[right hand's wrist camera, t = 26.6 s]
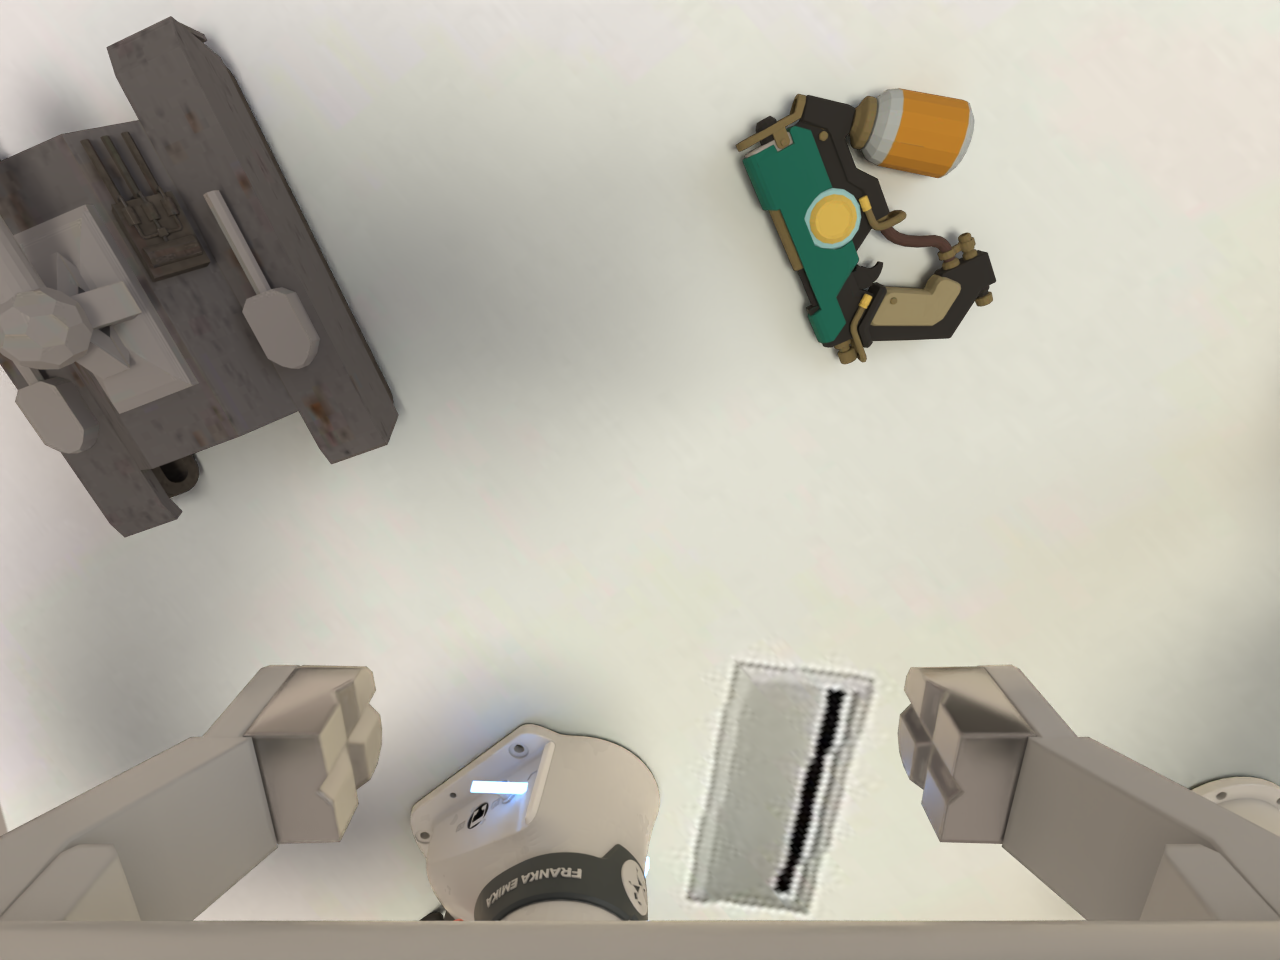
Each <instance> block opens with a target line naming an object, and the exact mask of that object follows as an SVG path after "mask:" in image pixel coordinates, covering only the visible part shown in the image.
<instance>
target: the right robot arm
mask: <svg viewBox="0 0 1280 960" xmlns="http://www.w3.org/2000/svg"><path fill="white" fill-rule="evenodd" d="M375 691H376V687H375V682H374V677H373V672H372V671H371V670H370V669H369V668H368V667H366V666H320V665H302V666H299V665H269V666H266V667H263V668H261V669H260V670H259V671H258V672H257V674H256V675H255V676H254V677H253V678H252V679H251V681H250V682H249V683H248V684H247V685H246V686H245V688H244V689H243V690H242V691H241V692H240V693H239V695H238V696H237V697H236V698H235V699H234V700H233V702H232V703H231V704H230V705H229V706H228V707H227V709H226V710H225V711H224V712H223V713H222V714H221V716H220V717H219V718H218V719H217V720H216V721H215V723H214V724H213V725H212V726H211V727H210V728H209V730H208V731H207V732H206V733H205V734H204V735H203V737H190V738H188V739H187V740H185V741H183V742H181V743H179V744H177V745H175V746H173V747H171V748H169V749H167V750H165V751H163V752H162V753H160V754H158V755H156V756H154V757H152V758H150V759H148V760H146V761H144V762H142V763H140V764H138V765H137V766H135V767H133V768H131V769H129V770H127V771H125V772H123V773H121V774H119V775H117V776H115V777H114V778H112V779H110V780H108V781H106V782H104V783H102V784H100V785H98V786H96V787H94V788H92V789H90V790H89V791H87V792H85V793H83V794H81V795H79V796H77V797H75V798H73V799H71V800H69V801H67V802H65V803H64V804H62V805H60V806H58V807H56V808H54V809H52V810H50V811H48V812H46V813H44V814H42V815H40V816H39V817H37V818H35V819H33V820H31V821H29V822H27V823H25V824H23V825H21V826H19V827H17V828H16V829H14V830H12V831H10V832H8V833H6V834H4V835H2V836H0V960H1280V837H1279V836H1277V835H1275V834H1274V833H1272V832H1270V831H1268V830H1266V829H1264V828H1262V827H1260V826H1258V825H1256V824H1254V823H1252V822H1251V821H1249V820H1247V819H1245V818H1243V817H1241V816H1239V815H1237V814H1235V813H1233V812H1231V811H1229V810H1228V809H1226V808H1224V807H1222V806H1220V805H1218V804H1216V803H1214V802H1212V801H1210V800H1208V799H1207V798H1205V797H1203V796H1201V795H1199V794H1197V793H1195V792H1193V791H1191V790H1189V789H1187V788H1185V787H1184V786H1182V785H1180V784H1178V783H1176V782H1174V781H1172V780H1170V779H1168V778H1166V777H1164V776H1162V775H1161V774H1159V773H1157V772H1155V771H1153V770H1151V769H1149V768H1147V767H1145V766H1143V765H1141V764H1139V763H1138V762H1136V761H1134V760H1132V759H1130V758H1128V757H1126V756H1124V755H1122V754H1120V753H1118V752H1116V751H1115V750H1113V749H1111V748H1109V747H1107V746H1105V745H1103V744H1101V743H1099V742H1097V741H1095V740H1093V739H1092V738H1090V737H1077V735H1076V734H1075V733H1074V732H1073V731H1072V730H1071V728H1070V727H1069V726H1068V725H1067V724H1066V723H1065V721H1064V720H1063V719H1062V718H1061V717H1060V716H1059V714H1058V713H1057V712H1056V711H1055V710H1054V709H1053V707H1052V706H1051V705H1050V704H1049V703H1048V702H1047V700H1046V699H1045V698H1044V697H1043V696H1042V695H1041V693H1040V692H1039V691H1038V690H1037V689H1036V688H1035V686H1034V685H1033V684H1032V683H1031V682H1030V681H1029V679H1028V678H1027V677H1026V676H1025V675H1024V674H1023V672H1022V671H1021V670H1020V669H1019V668H1017V667H1015V666H1013V665H982V666H977V667H911V668H910V670H909V672H908V674H907V676H906V681H905V687H904V691H905V693H906V695H907V697H908V698H909V700H910V702H911V704H910V705H909V706H908V707H907V708H906V709H905V710H904V711H903V712H902V713H901V714H900V719H899V727H898V742H899V752H900V756H901V759H902V763H903V766H904V768H905V771H906V773H907V775H908V777H909V779H910V780H911V781H912V782H914V783H915V784H916V785H918V786H919V787H921V788H922V789H923V790H924V791H923V797H922V803H921V804H922V806H923V808H924V810H925V812H926V814H927V816H928V818H929V820H930V822H931V824H932V827H933V829H934V831H935V833H936V835H937V837H938V839H939V841H940V842H957V843H993V844H1002V847H1003V848H1004V849H1005V850H1006V851H1007V852H1009V853H1010V854H1011V855H1012V856H1013V857H1014V858H1016V859H1017V860H1018V861H1019V862H1020V863H1021V864H1022V865H1024V866H1025V867H1026V868H1027V869H1028V870H1029V871H1031V872H1032V873H1033V874H1034V875H1035V876H1036V877H1038V878H1039V879H1040V880H1041V881H1042V882H1043V883H1045V884H1046V885H1047V886H1048V887H1049V888H1050V889H1051V890H1053V891H1054V892H1055V893H1056V894H1057V895H1058V896H1060V897H1061V898H1062V899H1063V900H1064V901H1065V902H1067V903H1068V904H1069V905H1070V906H1071V907H1072V908H1074V909H1075V910H1076V911H1077V912H1078V913H1079V914H1080V915H1082V916H1083V917H1084V918H1085V919H1086V920H1087V921H648V903H647V888H646V879H645V877H646V874H647V872H648V869H649V857H647V853H648V847H649V842H650V838H651V834H652V830H653V827H654V823H655V821H656V818H657V815H658V811H659V805H660V796H659V790H658V786H657V783H656V781H655V779H654V777H653V775H652V773H651V772H650V770H649V769H648V768H647V766H646V765H645V764H644V763H643V762H642V761H641V760H640V759H639V758H638V757H636V756H635V755H634V754H633V753H631V752H630V751H628V750H626V749H625V748H623V747H621V746H619V745H617V744H614V743H612V742H609V741H606V740H602V739H598V738H593V737H586V736H571V735H563V734H558V733H556V732H554V731H551V730H549V729H546V728H544V727H541V726H538V725H534V724H525V725H522V726H520V727H519V728H517V729H516V730H515V731H513V732H512V733H511V734H509V735H508V736H507V737H505V738H504V739H502V740H501V741H500V742H498V743H497V744H496V745H494V746H493V747H492V748H490V749H489V750H488V751H486V752H485V753H483V754H482V755H481V756H479V757H478V758H477V759H475V760H474V761H473V762H471V763H470V764H469V765H467V766H466V767H464V768H463V769H462V770H460V771H459V772H458V773H456V774H455V775H454V776H452V777H451V778H450V779H448V780H447V781H445V782H444V783H443V784H441V785H440V786H439V787H437V788H436V789H435V790H433V791H432V792H431V793H429V794H428V795H426V796H425V797H424V798H422V799H421V800H420V801H419V802H417V803H416V804H415V805H414V806H413V808H412V811H411V815H410V822H411V829H412V832H413V835H414V838H415V840H416V843H417V844H418V846H419V848H420V850H421V851H422V853H423V854H424V856H425V857H426V859H427V860H426V868H427V875H428V880H429V882H430V885H431V887H432V889H433V891H434V893H435V895H436V897H437V898H438V900H439V901H440V902H441V904H442V905H443V906H444V908H445V909H446V913H445V917H444V918H443V915H442V914H441V913H439V912H435V913H431V914H429V915H427V916H426V917H424V918H423V919H421V920H420V921H193V920H194V919H195V918H196V917H197V916H199V915H200V914H201V913H202V912H203V911H204V910H205V909H207V908H208V907H209V906H210V905H211V904H212V903H214V902H215V901H216V900H217V899H218V898H219V897H221V896H222V895H223V894H224V893H225V892H226V891H228V890H229V889H230V888H231V887H232V886H233V885H235V884H236V883H237V882H238V881H239V880H240V879H242V878H243V877H244V876H245V875H246V874H247V873H249V872H250V871H251V870H252V869H253V868H254V867H255V866H257V865H258V864H259V863H260V862H261V861H262V860H264V859H265V858H266V857H267V856H268V855H269V854H271V853H272V852H273V851H274V850H275V849H276V848H278V844H287V843H321V842H340V841H341V839H342V837H343V835H344V833H345V831H346V829H347V827H348V825H349V823H350V820H351V818H352V816H353V814H354V812H355V810H356V808H357V806H358V804H359V803H358V797H357V791H356V790H357V789H358V788H359V787H361V786H362V785H364V784H365V783H366V782H368V781H369V780H370V779H371V777H372V775H373V773H374V770H375V768H376V766H377V764H378V759H379V755H380V750H381V745H382V725H381V718H380V714H379V713H378V712H377V711H376V710H375V709H374V708H373V707H372V706H371V705H370V704H369V702H370V700H371V698H372V697H373V695H374V693H375ZM517 745H522V746H523V747H519V746H517Z"/></svg>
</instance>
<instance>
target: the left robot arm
mask: <svg viewBox="0 0 1280 960" xmlns="http://www.w3.org/2000/svg"><path fill="white" fill-rule="evenodd" d="M1191 791H1193V792H1195V793H1197V794H1199V795H1201V796H1203V797H1205V798H1207V799H1208V800H1210V801H1212V802H1214V803H1216V804H1218V805H1220V806H1222V807H1224V808H1226V809H1228V810H1229V811H1231V812H1233V813H1235V814H1237V815H1239V816H1241V817H1243V818H1245V819H1247V820H1249V821H1251V822H1252V823H1254V824H1256V825H1258V826H1260V827H1262V828H1264V829H1266V830H1268V831H1270V832H1272V833H1274V834H1275V835H1277V836H1279V837H1280V787H1279V786H1278V785H1276V784H1274V783H1272V782H1270V781H1267V780H1264V779H1260V778H1254V777H1231V778H1224V779H1219V780H1216V781H1212V782H1208V783H1206V784H1203V785H1201V786H1199V787H1196V788H1194V789H1192V790H1191Z"/></svg>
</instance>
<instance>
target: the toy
mask: <svg viewBox="0 0 1280 960" xmlns="http://www.w3.org/2000/svg"><path fill="white" fill-rule="evenodd" d="M206 41H207V39H206V37H205V35H204V34H202V33H200V32H198V31H196V30H194V29H192V28H190V27H188V26H186V25H183V24H181V23H179V22H178V21H176V20H175V19H174V18H173V17H171V16H170V17H168V18H166V19H164V20H162V21H160V22H158V23H156V24H154V25H152V26H150V27H148V28H146V29H144V30H141V31H139V32H137V33H135V34H133V35H131V36H129V37H127V38H125V39H123V40H121V41H119V42H117V43H115V44H112V45H110V46H108V47H107V50H108V53H109V57H110V60H111V63H112V66H113V69H114V73H115V76H116V78H117V80H118V82H119V84H120V85H121V87H122V89H123V91H124V93H125V95H126V97H127V98H128V100H129V102H130V104H131V106H132V108H133V110H134V111H135V113H136V115H137V117H138V119H139V120H137V121H132V122H126V123H121V124H115V125H110V126H104V127H99V128H93V129H88V130H82V131H77V132H71V133H66V134H61V135H59V136H56V137H54V138H52V139H50V140H47V141H45V142H43V143H41V144H38V145H36V146H34V147H32V148H29V149H27V150H25V151H23V152H20V153H18V154H16V155H14V156H11V157H9V158H7V159H5V160H2V161H0V364H1V366H2V367H3V369H4V370H5V372H6V373H7V375H8V376H9V378H10V379H11V380H12V382H13V383H14V385H15V386H16V388H17V389H18V392H17V396H16V400H15V402H16V404H17V405H18V406H19V408H20V409H21V411H22V412H23V414H24V415H25V417H26V418H27V419H28V421H29V422H30V424H31V425H32V427H33V428H34V430H35V431H36V432H37V434H38V435H39V437H40V438H41V440H42V441H43V443H44V444H45V445H47V446H49V447H51V448H53V449H55V450H57V451H60V452H61V453H62V455H63V456H64V458H65V459H66V461H67V462H68V463H69V465H70V466H71V468H72V469H73V471H74V472H75V474H76V475H77V477H78V478H79V479H80V481H81V482H82V484H83V485H84V487H85V488H86V490H87V491H88V493H89V494H90V495H91V497H92V498H93V500H94V501H95V503H96V504H97V506H98V507H99V508H100V510H101V511H102V513H103V514H104V516H105V517H106V519H107V520H108V522H109V523H110V524H111V525H112V526H113V527H114V528H115V529H116V530H117V531H118V532H119V533H121V534H122V535H123V536H124V537H127V536H130V535H133V534H136V533H139V532H142V531H145V530H147V529H150V528H153V527H156V526H159V525H162V524H165V523H167V522H170V521H173V520H176V519H177V518H178V517H179V516H180V514H181V513H182V510H181V509H180V508H179V507H178V506H177V505H176V504H175V503H174V502H173V501H172V500H171V499H170V498H171V497H174V496H176V495H179V494H182V493H184V492H187V491H189V490H190V489H191V488H192V487H194V485H195V484H196V482H197V481H198V477H199V468H198V465H197V463H196V461H195V459H194V458H193V456H192V454H194V453H196V452H199V451H202V450H204V449H207V448H210V447H212V446H215V445H218V444H220V443H223V442H226V441H228V440H231V439H234V438H236V437H239V436H241V435H244V434H246V433H248V432H251V431H253V430H255V429H258V428H260V427H262V426H265V425H267V424H269V423H272V422H274V421H276V420H279V419H281V418H283V417H286V416H288V415H290V414H293V413H295V412H297V411H299V412H300V414H301V416H302V418H303V420H304V421H305V423H306V425H307V427H308V429H309V431H310V432H311V434H312V436H313V438H314V440H315V441H316V443H317V445H318V447H319V449H320V450H321V451H322V452H323V454H324V455H325V456H326V458H327V459H328V460H329V462H330V463H331V464H334V463H336V462H339V461H342V460H345V459H348V458H351V457H354V456H356V455H359V454H362V453H365V452H368V451H371V450H374V449H376V448H379V447H382V446H385V445H387V444H388V442H389V439H390V437H391V434H392V431H393V429H394V426H395V423H396V421H397V418H398V413H397V411H396V409H395V407H394V405H393V397H392V394H391V391H390V389H389V387H388V385H387V383H386V381H385V379H384V377H383V375H382V373H381V371H380V369H379V367H378V365H377V363H376V361H375V359H374V357H373V355H372V353H371V351H370V349H369V346H368V344H367V342H366V340H365V338H364V336H363V334H362V332H361V330H360V328H359V326H358V324H357V322H356V320H355V318H354V316H353V314H352V312H351V310H350V308H349V306H348V304H347V302H346V300H345V298H344V296H343V294H342V292H341V290H340V288H339V286H338V284H337V282H336V280H335V278H334V276H333V274H332V272H331V270H330V268H329V266H328V264H327V262H326V260H325V258H324V256H323V254H322V252H321V250H320V248H319V246H318V244H317V242H316V240H315V238H314V236H313V234H312V232H311V230H310V228H309V226H308V224H307V222H306V220H305V218H304V216H303V214H302V212H301V210H300V208H299V206H298V204H297V202H296V200H295V198H294V196H293V194H292V192H291V190H290V188H289V186H288V184H287V182H286V180H285V178H284V176H283V174H282V172H281V170H280V168H279V166H278V164H277V162H276V160H275V158H274V156H273V154H272V152H271V150H270V148H269V146H268V144H267V142H266V140H265V138H264V136H263V134H262V132H261V130H260V128H259V126H258V124H257V122H256V120H255V118H254V116H253V114H252V111H251V109H250V107H249V105H248V103H247V101H246V99H245V97H244V95H243V93H242V91H241V89H240V87H239V85H238V83H237V81H236V79H235V77H234V76H233V75H232V73H231V72H230V71H229V69H228V68H227V67H226V66H225V65H224V63H223V61H222V59H221V58H220V57H219V56H218V55H217V54H216V53H214V52H213V51H212V50H211V49H210V48H208V47H207V46H206V45H205V44H204V42H206Z"/></svg>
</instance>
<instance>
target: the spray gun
mask: <svg viewBox="0 0 1280 960" xmlns="http://www.w3.org/2000/svg"><path fill="white" fill-rule="evenodd" d="M798 119H799V122H798V123H797V124H796V125H795V126H793V127H789V128H787V129H786V128H785V127H786V126H787V125H789V124H791V123H793V122H795V121H796V120H798ZM973 130H974V117H973V113H972V110H971V106H970V103H968V102H967V101H964V100H961V99H955V98H950V97H944V96H938V95H933V94H927V93H922V92H916V91H911V90H905V89H890V90H886V91H885V92H884V93H882V94H881V95H880V96H878V97H877V98H875V97H871V96H867V97H865V98H864V99H863V100H862V102H861V103H860V104H859V106H858V107H856V108H854V107H852V106H850V105H848V104H844V103H840V102H835V101H831V100H827V99H823V98H819V97H815V96H810V95H807V96H806V95H801V94H797V95H796V97H795V99H794V101H793V104H792V107H791V111H790V115H788V116H786V117H784V118H783V119H781V120H779V121H776V119H775V118H773V117H771V116H769V117H767V118H765V119H763V120H762V121H760V122H758V123H757V125H756V134H754V135H752V136H750V137H749V138H747V139H745V140H743V141H742V142H740V143H738V144H737V145H736V147H737V149H738V152H740V151H743V150H745V149H746V148H748V147H750V146H752V145H754V144H755V143H757V142H759V141H760V143H761V146H759V147H758V148H756V149H754V150H752V151H751V152H749V153H747V154H746V155H745V159H743V163H744V166H745V168H746V171H747V173H748V175H749V178H750V180H751V183H752V185H753V187H754V190H755V192H756V194H757V197H758V199H759V202H760V204H761V206H762V209H763V210H769V213H770V215H771V217H772V220H773V222H774V224H775V227H776V229H777V232H778V234H779V236H780V239H781V241H782V244H783V246H784V248H785V251H786V253H787V255H788V258H789V260H790V263H791V265H792V267H793V270H794V271H798V273H799V275H800V278H801V280H802V282H803V285H804V287H805V290H806V292H807V294H808V297H809V299H810V302H811V304H812V305H810V306H808V307H806V309H807V312H808V318H809V321H810V323H811V325H812V328H813V330H814V333H815V335H816V337H817V340H818V342H820V343H822V344H823V346H824V347H828V348H829V347H835V348H836V349H839V352H838V356H839V359H840V361H841V363H842V364H848V363H851V362H853V361H854V360H855V359H856V358H858V359H859V360H860V361H861V362H866V359H867V358H866V354H865V351H864V348H863V347H865V348H868V347H870V345H871V344H872V343H873V342H872V341H892V340H922V339H944V338H951V336H952V335H953V333H954V332H955V330H956V329H957V327H958V326H959V324H960V323H961V321H962V320H963V318H964V317H965V315H966V313H967V312H968V310H969V309H970V307H971V306H972V304H973V303H974V301H975V302H976V304H977V306H985V305H988V304H990V303H991V302H992V301H993V297H992V293H991V292H988V289H989V285H991V284H993V283H995V282H996V279H995V275H994V272H993V269H992V265H991V262H990V259H989V255H988V253H987V252H983V251H979V250H975V249H974V246H975V240H974V238H973V237H971V234H970V233H968V232H967V233H964V234H962V235H960V236H959V237H958V240H959V242H958V244H957V245H955V246H953V247H951V245H950V243H949V242H948V241H947V240H946V239H945V238H943V237H941V236H936V235H929V236H912V235H906V234H902V233H899V232H898V231H896V230H895V229H894V228H893V227H892V226H894V225H896V224H898V223H900V222H901V221H902V220H904V219H905V218H906V213H905V212H904V211H902V210H894V211H891V212H889V209H888V206H887V204H886V201H885V198H884V195H883V192H882V190H881V187H880V184H879V181H878V179H877V178H875V177H873V176H871V175H869V174H867V173H865V172H863V171H861V170H859V169H857V168H856V166H855V164H854V161H853V158H852V156H851V153H850V151H849V148H848V145H847V143H846V140H845V137H846V136H847V135H848V134H849V136H850V142H851V146H852V147H853V148H855V149H861V150H862V152H863V154H864V157H865V158H866V159H867V160H868V161H870V162H872V163H874V164H875V165H877V166H882V167H887V168H892V169H897V170H901V171H906V172H911V173H916V174H921V175H925V176H930V177H935V178H941V177H943V176H945V175H947V174H948V173H949V172H951V171H952V170H953V169H954V168H956V166H957V165H958V164H959V163H960V162H961V160H962V159H963V157H964V155H965V153H966V152H967V149H968V147H969V144H970V142H971V138H972V134H973ZM872 228H873V229H874V230H879V231H881V233H882V234H883V235H884V236H885V237H886V238H887V239H888V240H889V241H891V242H893V243H895V244H898V245H901V246H905V247H931V246H932V247H936V248H938V249H939V250H940V251H939V252H938V257H939V260H941V261H942V260H944V262H943V264H942V267H943V268H940V269H938V270H936V271H935V273H934V275H932V276H931V277H930V278H929V280H928V281H927V283H926V285H925V287H924V289H918V288H902V287H885V286H883V285H881V284H879V283H877V282H876V283H872V282H875V280H876V279H877V278H878V277H879V275H880V273H881V270H882V267H883V263H882V262H877V263H876V265H875V266H873V267H872V268H866V267H863V266H862V267H860V266H858V265H857V263H858V261H859V258H858V255H857V250H858V248H859V247H860V245H861V244H862V242H863V241H864V239H865V238H866V236H867V235H868V233H869V232H870V230H871V229H872ZM960 251H962V252H964V254H963V258H961V259H958V258H955V255H956V253H958V252H960ZM854 267H855V268H854ZM853 269H854V270H853ZM867 287H870V288H869V290H868V291H865V290H862V289H864V288H867ZM849 344H851V346H849Z"/></svg>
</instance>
